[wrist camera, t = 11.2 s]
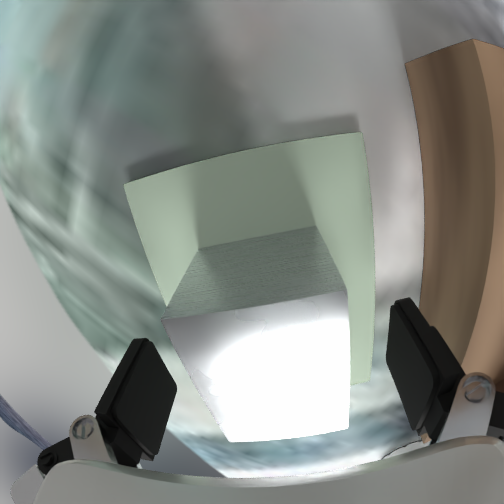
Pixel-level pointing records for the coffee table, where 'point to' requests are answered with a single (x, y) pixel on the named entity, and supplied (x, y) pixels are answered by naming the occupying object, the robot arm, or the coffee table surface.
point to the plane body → (463, 200)
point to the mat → (268, 215)
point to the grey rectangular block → (266, 335)
